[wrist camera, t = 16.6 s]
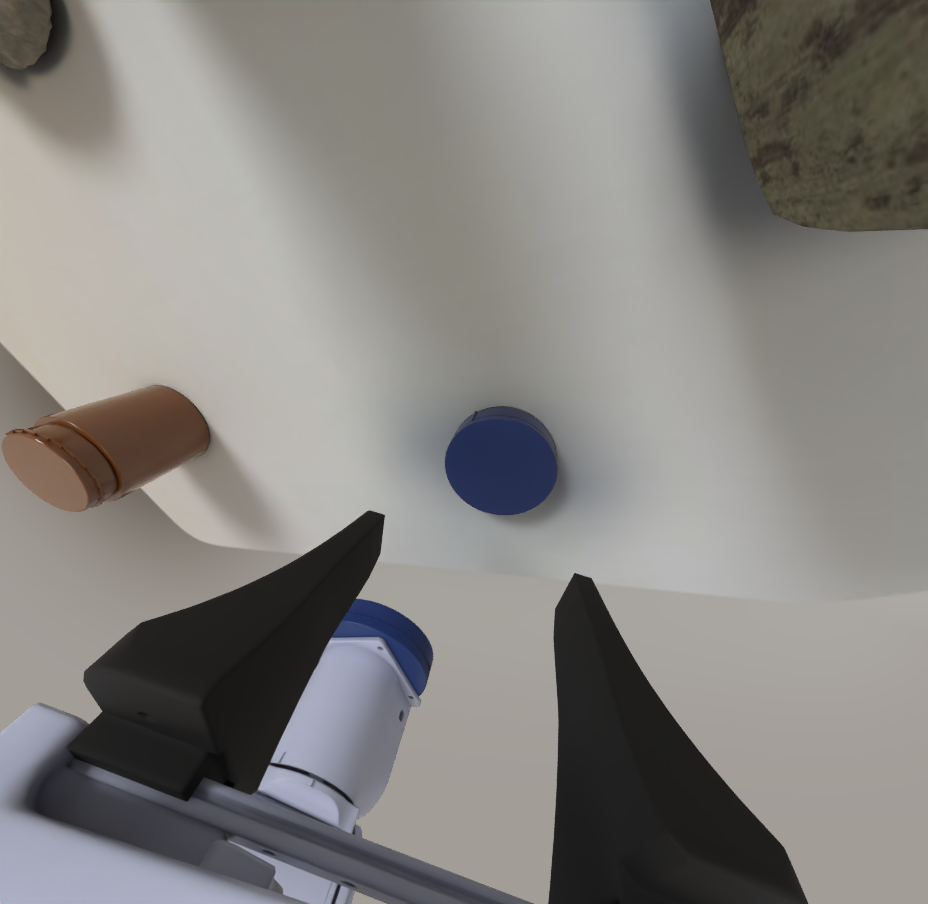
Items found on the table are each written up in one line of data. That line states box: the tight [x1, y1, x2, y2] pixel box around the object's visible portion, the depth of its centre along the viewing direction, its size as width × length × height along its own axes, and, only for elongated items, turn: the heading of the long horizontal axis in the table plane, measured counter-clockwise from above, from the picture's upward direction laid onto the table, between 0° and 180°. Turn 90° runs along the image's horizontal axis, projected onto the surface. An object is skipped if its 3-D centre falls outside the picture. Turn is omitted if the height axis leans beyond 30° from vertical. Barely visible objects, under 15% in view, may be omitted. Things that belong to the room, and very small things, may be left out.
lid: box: [445, 407, 557, 515], centre depth 18 cm, size 6×6×2 cm
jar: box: [2, 385, 210, 512], centre depth 20 cm, size 5×5×7 cm
